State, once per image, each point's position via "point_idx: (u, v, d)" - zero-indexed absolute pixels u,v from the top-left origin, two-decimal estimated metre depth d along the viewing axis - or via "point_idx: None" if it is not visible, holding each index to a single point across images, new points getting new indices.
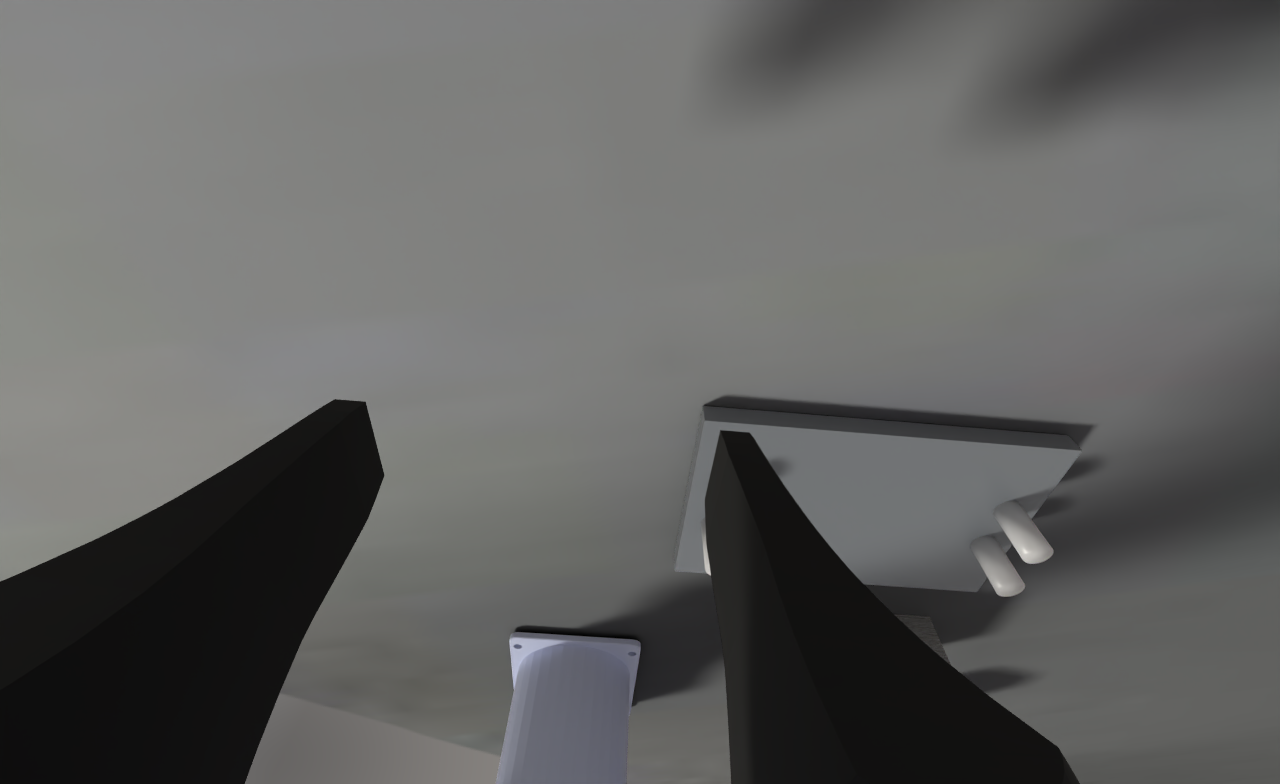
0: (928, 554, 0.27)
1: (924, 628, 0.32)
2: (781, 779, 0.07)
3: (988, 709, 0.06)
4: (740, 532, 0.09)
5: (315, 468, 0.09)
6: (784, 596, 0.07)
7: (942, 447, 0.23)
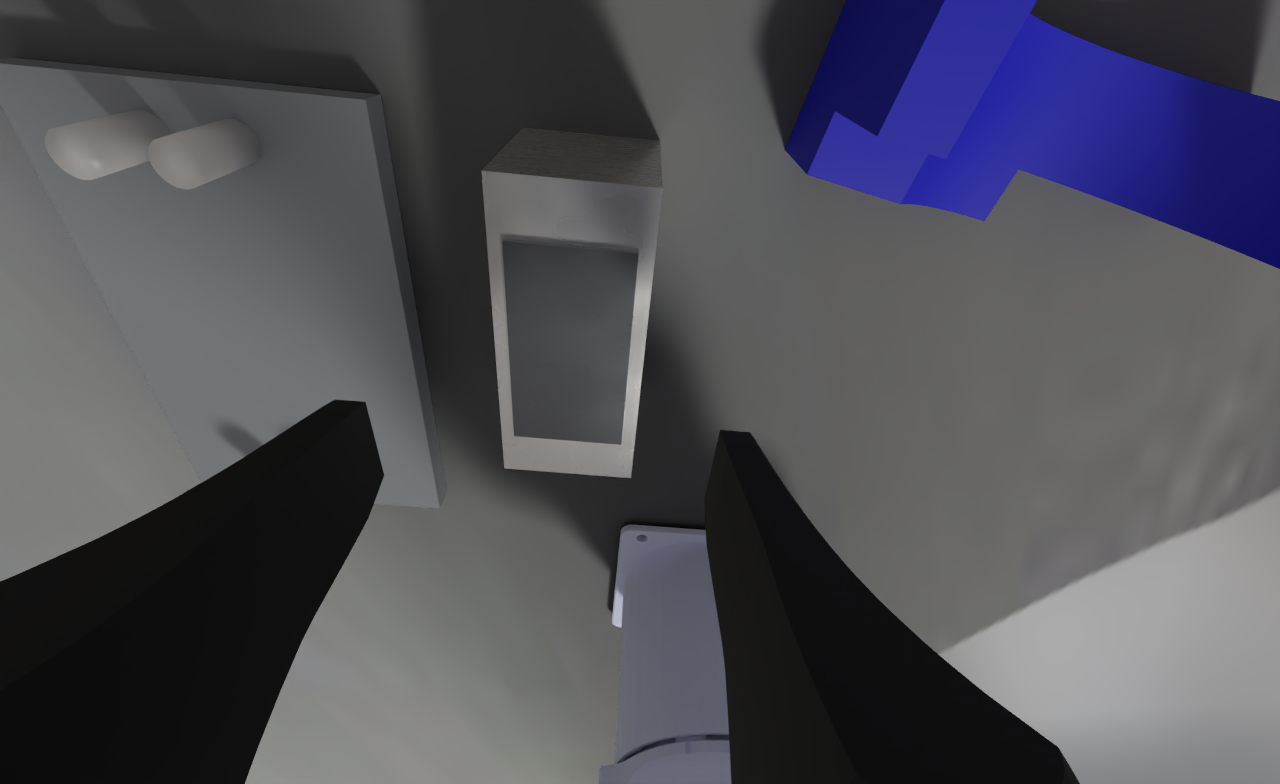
0: (299, 225, 0.17)
1: None
2: (781, 779, 0.07)
3: (988, 709, 0.06)
4: (740, 532, 0.09)
5: (316, 468, 0.09)
6: (784, 596, 0.07)
7: (101, 271, 0.18)
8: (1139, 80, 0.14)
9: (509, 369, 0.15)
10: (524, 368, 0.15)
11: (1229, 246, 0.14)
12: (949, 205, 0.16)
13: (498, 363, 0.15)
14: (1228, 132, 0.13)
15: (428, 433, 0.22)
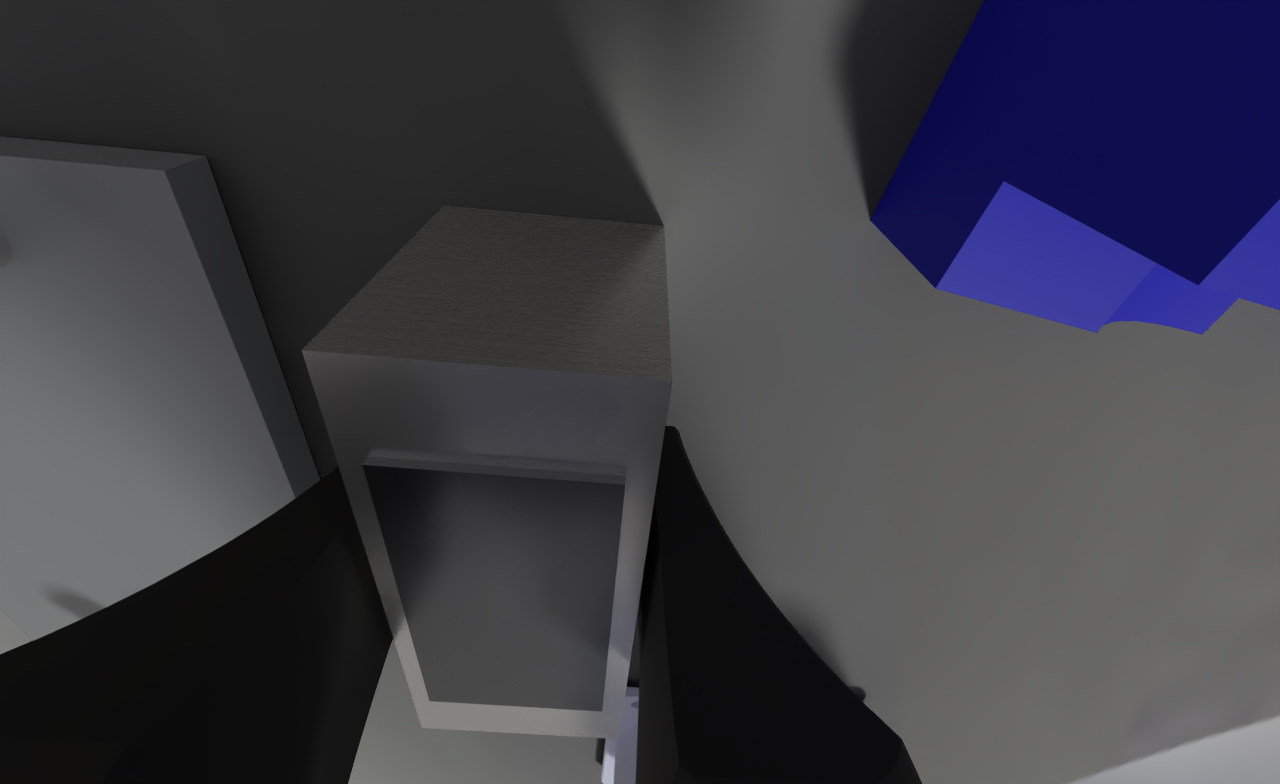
0: (99, 354, 0.11)
1: None
2: (652, 772, 0.06)
3: (841, 700, 0.06)
4: None
5: None
6: (667, 588, 0.07)
7: None
8: None
9: None
10: (434, 623, 0.09)
11: None
12: (1153, 314, 0.09)
13: (390, 617, 0.09)
14: None
15: None
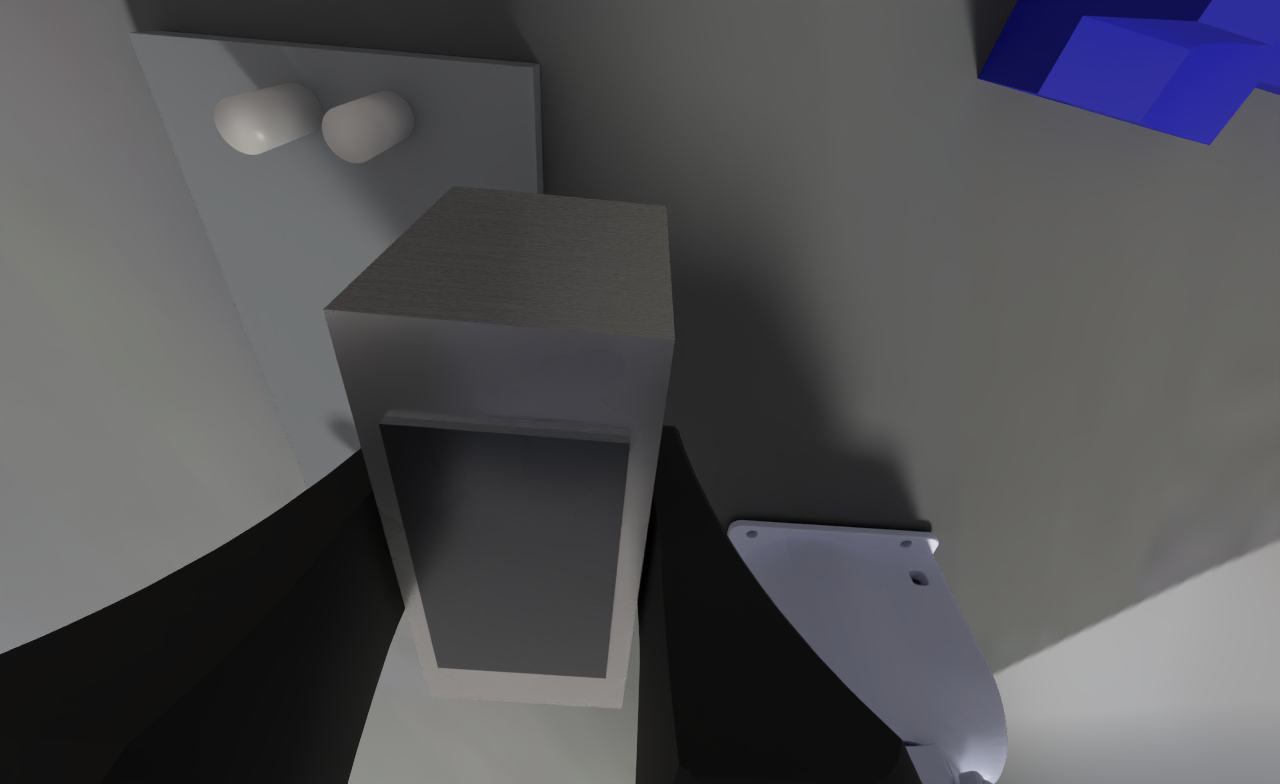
0: None
1: None
2: (653, 772, 0.06)
3: (841, 700, 0.06)
4: (649, 525, 0.09)
5: None
6: (667, 588, 0.07)
7: (229, 258, 0.17)
8: None
9: None
10: (444, 588, 0.09)
11: None
12: (1175, 127, 0.14)
13: (401, 581, 0.09)
14: None
15: None
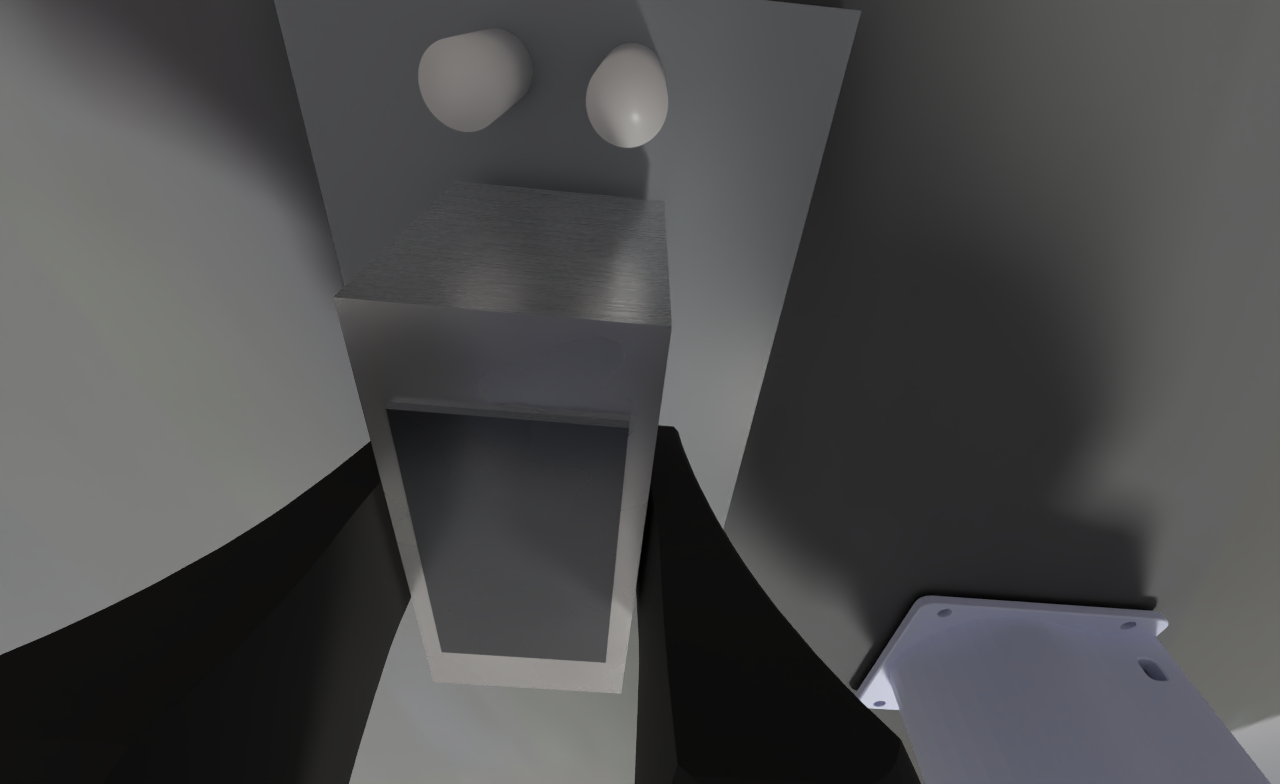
0: (675, 212, 0.11)
1: None
2: (652, 772, 0.06)
3: (840, 700, 0.06)
4: (649, 525, 0.09)
5: None
6: (666, 588, 0.07)
7: None
8: None
9: None
10: (448, 572, 0.09)
11: None
12: None
13: (407, 565, 0.09)
14: None
15: None
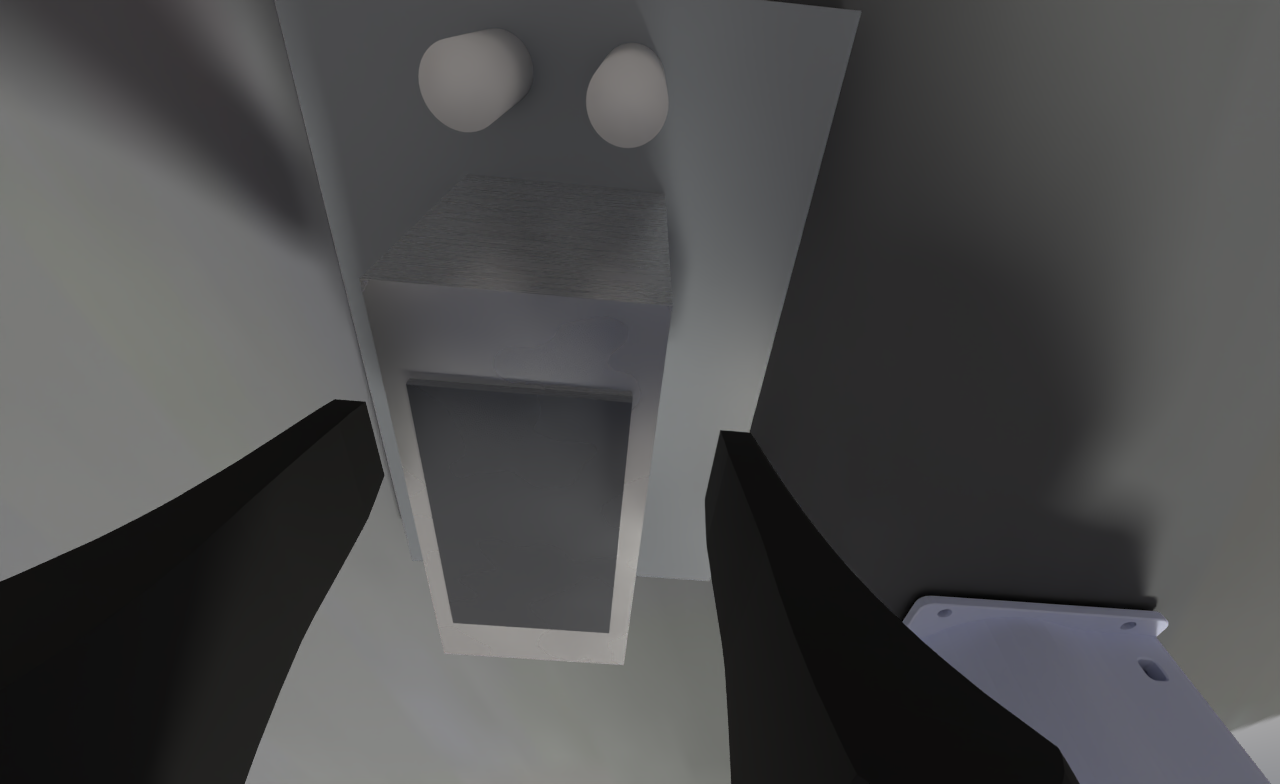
0: (675, 212, 0.11)
1: None
2: (781, 779, 0.07)
3: (988, 709, 0.06)
4: (740, 532, 0.09)
5: (316, 468, 0.09)
6: (784, 596, 0.07)
7: None
8: None
9: None
10: (460, 544, 0.10)
11: None
12: None
13: (421, 537, 0.10)
14: None
15: None
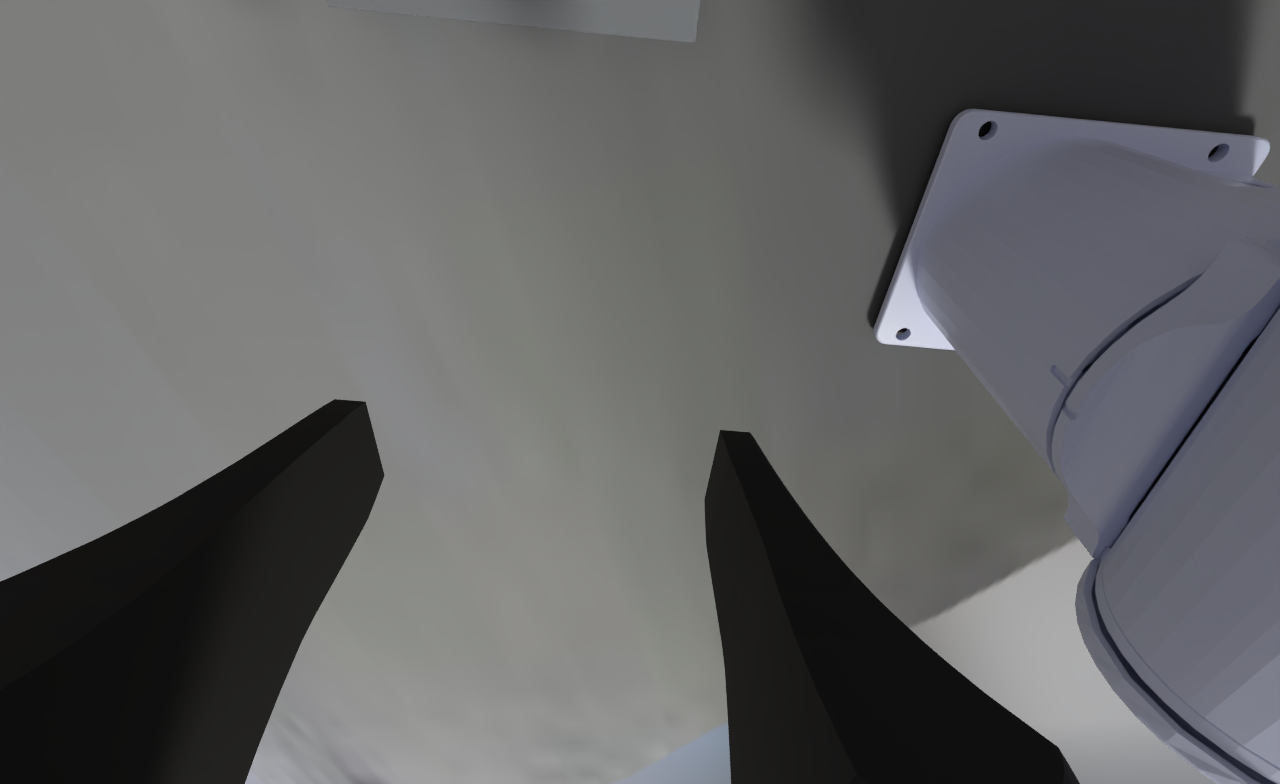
0: None
1: None
2: (781, 779, 0.07)
3: (988, 709, 0.06)
4: (740, 532, 0.09)
5: (316, 468, 0.09)
6: (784, 596, 0.07)
7: None
8: None
9: None
10: None
11: None
12: None
13: None
14: None
15: None
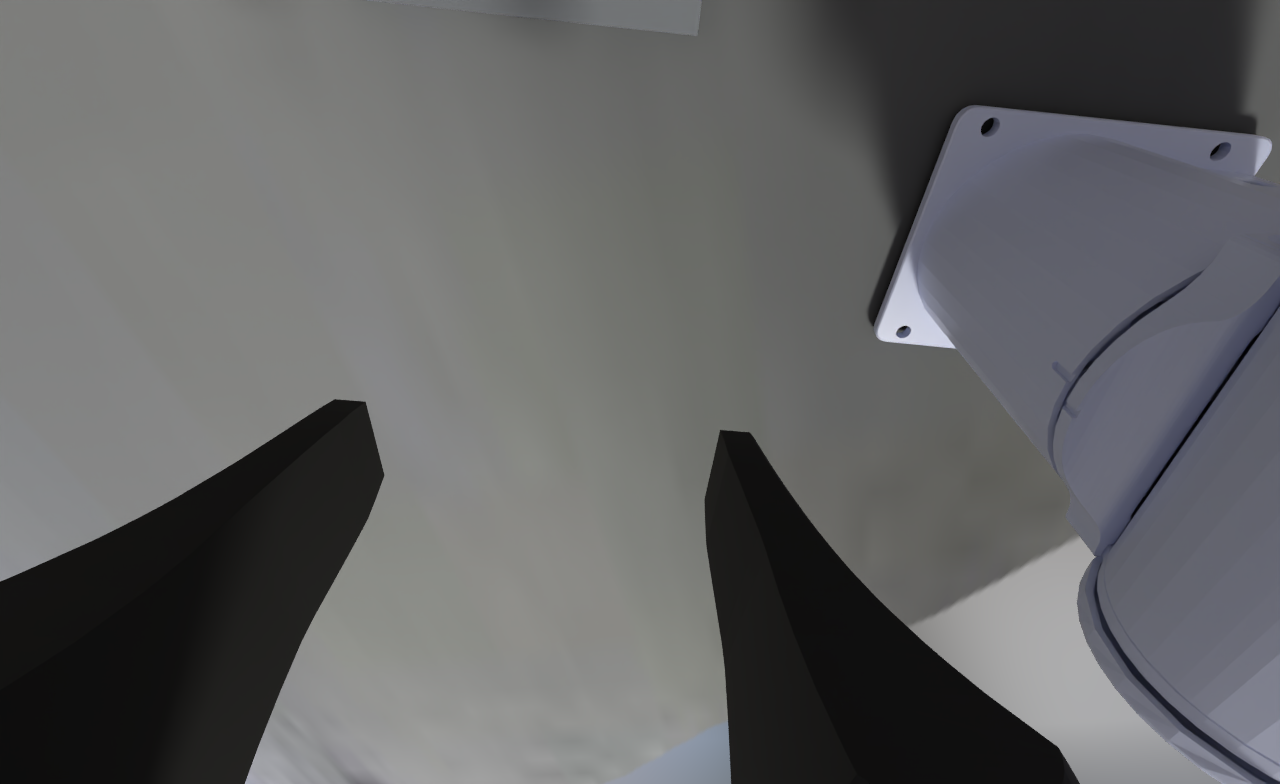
0: None
1: None
2: (781, 779, 0.07)
3: (988, 709, 0.06)
4: (740, 532, 0.09)
5: (315, 468, 0.09)
6: (784, 596, 0.07)
7: None
8: None
9: None
10: None
11: None
12: None
13: None
14: None
15: None
